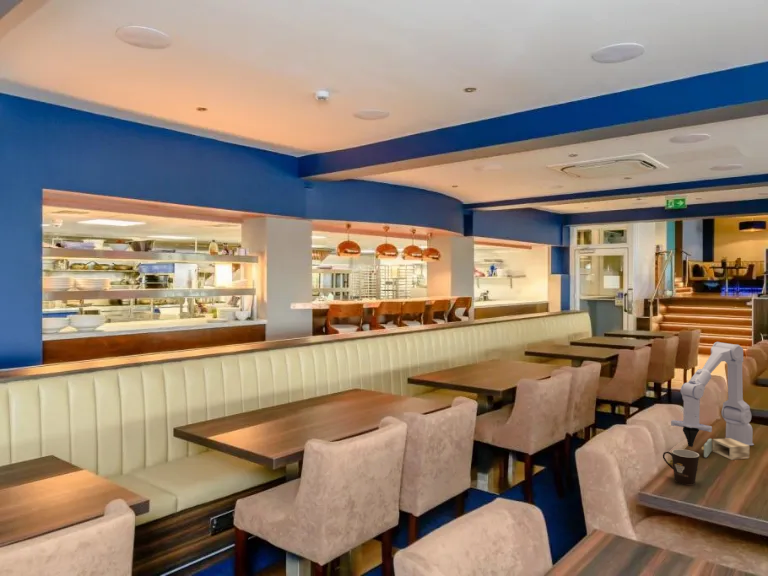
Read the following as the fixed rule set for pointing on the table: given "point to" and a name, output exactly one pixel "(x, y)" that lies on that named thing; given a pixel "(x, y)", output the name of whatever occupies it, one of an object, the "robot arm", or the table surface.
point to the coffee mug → (684, 465)
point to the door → (707, 447)
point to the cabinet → (730, 448)
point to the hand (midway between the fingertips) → (690, 446)
